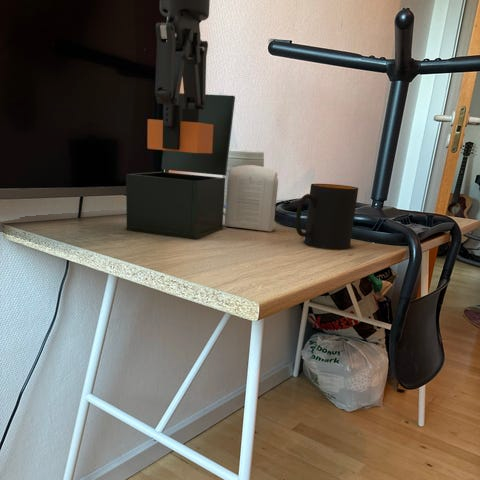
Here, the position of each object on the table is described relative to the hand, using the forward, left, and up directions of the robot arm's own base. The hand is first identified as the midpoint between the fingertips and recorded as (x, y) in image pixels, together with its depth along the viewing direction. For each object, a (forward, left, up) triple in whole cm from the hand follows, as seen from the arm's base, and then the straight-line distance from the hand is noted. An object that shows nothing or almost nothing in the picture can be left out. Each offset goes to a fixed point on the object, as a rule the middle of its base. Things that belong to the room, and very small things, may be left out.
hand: (180, 149), depth 81 cm
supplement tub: (0, +36, -15) cm, 39 cm away
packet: (0, 0, 0) cm, 0 cm away
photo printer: (+8, +18, -15) cm, 24 cm away
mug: (+24, +10, -15) cm, 29 cm away
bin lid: (-3, +14, +3) cm, 15 cm away
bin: (-3, +7, -15) cm, 16 cm away
